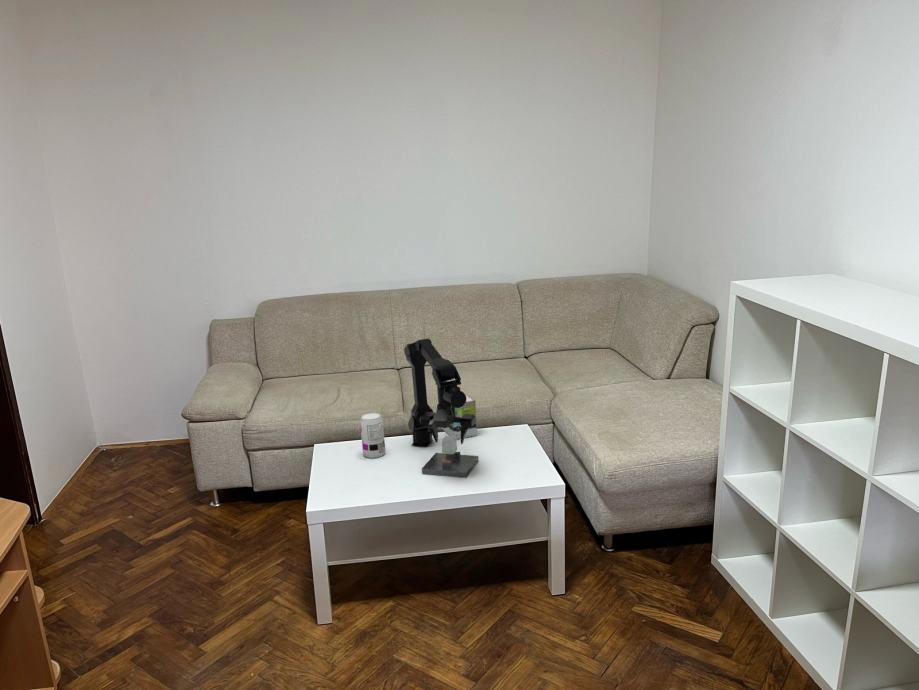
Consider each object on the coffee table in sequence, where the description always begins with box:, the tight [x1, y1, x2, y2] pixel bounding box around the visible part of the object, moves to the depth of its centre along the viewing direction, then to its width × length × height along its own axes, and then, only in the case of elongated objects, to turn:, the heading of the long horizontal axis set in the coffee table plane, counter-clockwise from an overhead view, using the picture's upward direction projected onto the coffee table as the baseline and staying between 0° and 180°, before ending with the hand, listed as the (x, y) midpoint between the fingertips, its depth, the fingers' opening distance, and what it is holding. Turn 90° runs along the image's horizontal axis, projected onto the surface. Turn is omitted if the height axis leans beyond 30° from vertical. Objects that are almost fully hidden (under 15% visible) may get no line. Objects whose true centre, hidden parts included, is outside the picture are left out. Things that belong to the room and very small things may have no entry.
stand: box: [421, 451, 480, 479], centre depth 250 cm, size 16×14×4 cm
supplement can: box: [359, 412, 386, 459], centre depth 264 cm, size 8×8×15 cm
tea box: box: [441, 390, 478, 440], centre depth 281 cm, size 15×10×15 cm
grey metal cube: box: [441, 435, 458, 454], centre depth 248 cm, size 4×4×5 cm
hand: (449, 442), depth 248 cm, fingers open, 9 cm apart
